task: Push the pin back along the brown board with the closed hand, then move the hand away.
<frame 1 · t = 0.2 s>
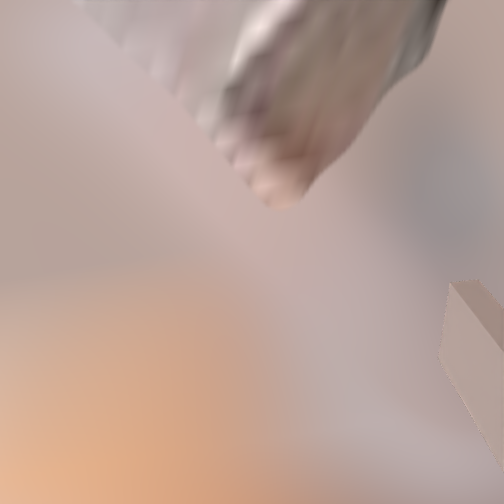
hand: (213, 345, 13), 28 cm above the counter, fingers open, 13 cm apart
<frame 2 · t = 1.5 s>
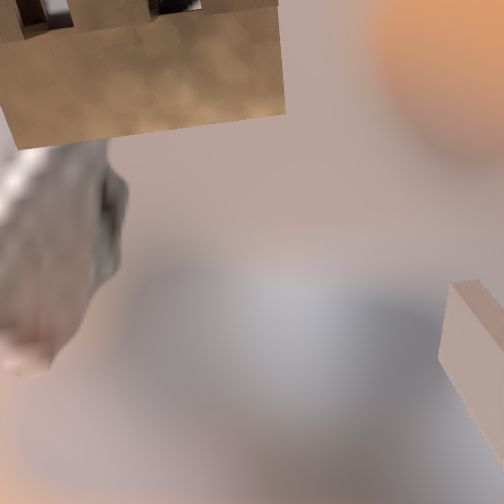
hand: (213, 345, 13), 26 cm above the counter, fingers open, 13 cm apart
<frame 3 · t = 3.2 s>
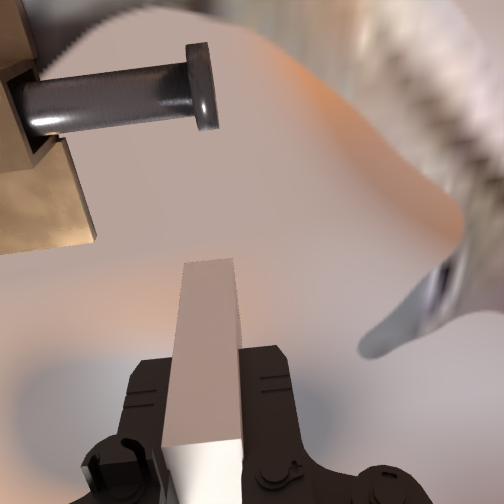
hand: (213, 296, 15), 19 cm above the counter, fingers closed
pin: (33, 109, 27), point 3 cm above the counter, slide at 9.0 cm
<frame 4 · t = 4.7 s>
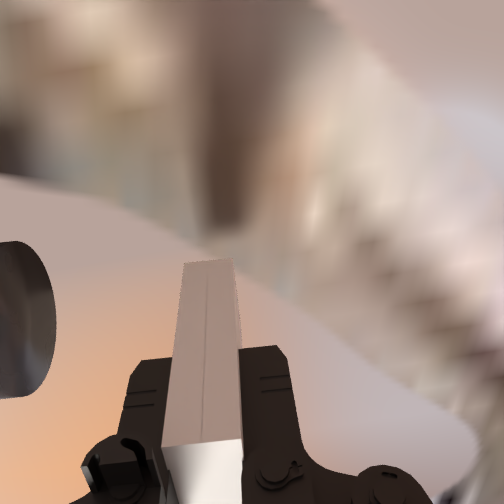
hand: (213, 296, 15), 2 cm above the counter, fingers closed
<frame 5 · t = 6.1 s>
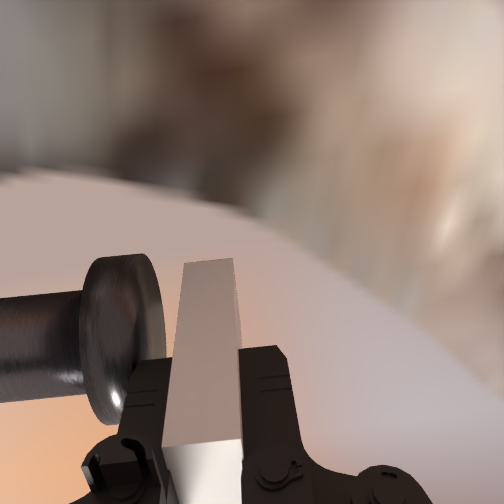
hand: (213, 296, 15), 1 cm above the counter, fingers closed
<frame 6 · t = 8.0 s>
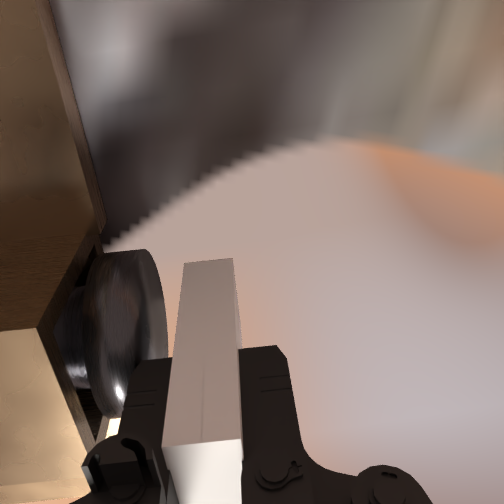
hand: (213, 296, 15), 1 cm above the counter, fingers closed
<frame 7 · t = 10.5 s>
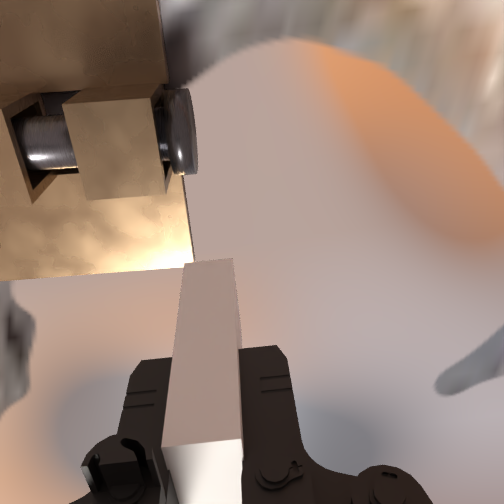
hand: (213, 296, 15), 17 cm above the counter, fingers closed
pin: (8, 145, 27), point 3 cm above the counter, slide at 0.0 cm
brown board: (15, 134, 29), on the counter
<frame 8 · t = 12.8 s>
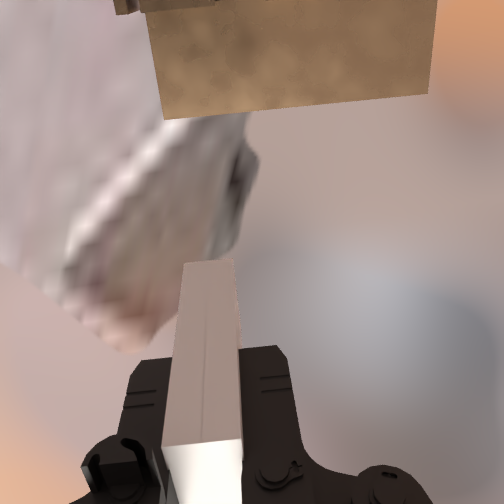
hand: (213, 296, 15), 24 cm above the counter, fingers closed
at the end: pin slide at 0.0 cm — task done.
